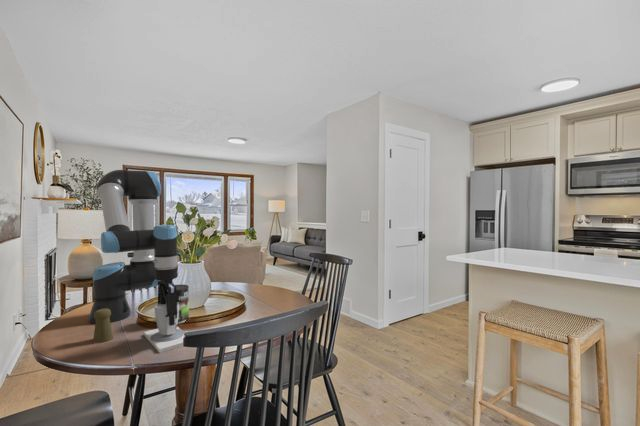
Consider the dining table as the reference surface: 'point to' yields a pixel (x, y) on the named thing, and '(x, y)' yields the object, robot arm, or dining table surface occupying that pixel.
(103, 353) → the dining table surface
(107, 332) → the olive peg figure
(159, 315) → the cup
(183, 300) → the coffee can
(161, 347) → the board
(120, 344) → the dining table surface
